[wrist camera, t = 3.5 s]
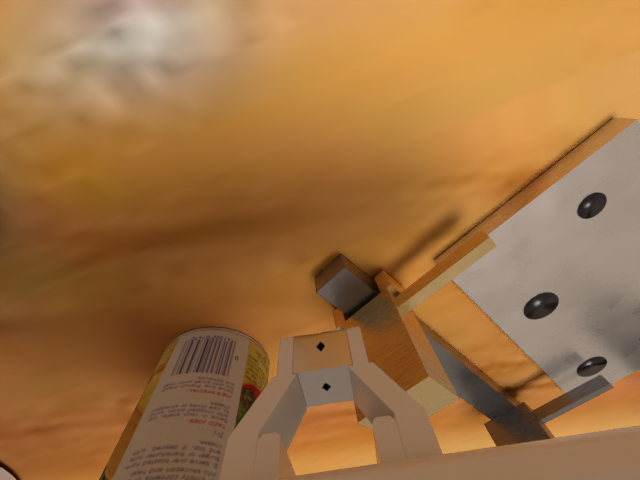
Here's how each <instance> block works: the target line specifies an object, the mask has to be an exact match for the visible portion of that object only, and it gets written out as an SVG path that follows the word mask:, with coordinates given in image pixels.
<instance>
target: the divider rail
mask: <svg viewBox="0 0 640 480" xmlns="http://www.w3.org/2000/svg"><path fill="white" fill-rule="evenodd" d="M315 284H316V293H317V294H319V295H320V296H322V297H323V298H324V299H326V300H327V301H329V302H330V303H331V304H333V305H334V306H335V307H337V308H338V309H340V310H341V311H342V312H344V313H345V314H346V315H348V316H349V317H351V316H352V315H354V314H355V313H356V312H357V311H359V310H360V309H361V308H362V307H364V306H365V305H366V304H367V303H369V302H370V301H371V300H372V299H374V298H375V297H376V296H377V295H379V294H380V290H379V288H378V286H377V284H376V283H375V282H374V281H373V280H372V279H370V278H369V277H368V276H367V275H366V274H364V273H363V272H362V271H361V270H360V269H358V268H357V267H356V266H355V265H354V264H352V263H351V262H350V261H349V260H348V259H347V258H345V257H344V256H343V255H342V254H340V255H339V256H338V257H337V258H336V259H335V260H333V261H332V262H331V263H330V264H329V265H328V266H327V267H326V268H325V269H324V270H322V271H321V272H320V273H319V274H318V275H317V276H316V277H315ZM415 317H416V316H415ZM416 319H417V321H418V322H419V324H420V326H421V328H422V330H423V332H424V334H425V335H426V337H427V339H428V341H429V343H430V345H431V346H432V348H433V350H434V352H435V354H436V356H437V358H438V359H439V361H440V363H441V365H442V367H443V369H444V371H445V372H446V374H447V376H448V378H449V380H450V382H451V383H452V385H453V387H454V389H455V391H456V393H457V395H458V396H459V397H461V398H462V399H464V400H465V401H466V402H468V403H469V404H470V405H472V406H473V407H475V408H476V409H477V410H479V411H480V412H482V413H483V414H484V415H486V416H487V417H488V418H490V419H491V420H490V421H489V422H487V423H485V424H484V425H485V427H486V429H487V430H488V432H489V434H490V436H491V437H492V439H493V441H494V443H495V444H496V446H504V445H510V444H517V443H524V442H531V441H538V440H545V439H551V438H555V437H554V436H553V434H552V433H551V432H550V430H549V429H548V428H547V426H546V425H545V424H544V423H546V422H548V421H550V420H552V419H554V418H556V417H558V416H560V415H562V414H564V413H566V412H568V411H570V410H571V409H573V408H575V407H577V406H579V405H581V404H583V403H585V402H587V401H589V400H591V399H593V398H595V397H597V396H598V395H600V394H602V393H604V392H606V391H608V390H610V389H612V388H614V387H613V386H612V385H611V384H610V383H609V382H608V381H607V380H606V379H605V378H604V377H603V376H602V375H598V376H596V377H595V378H593V379H591V380H589V381H587V382H585V383H583V384H582V385H580V386H578V387H576V388H574V389H572V390H570V391H569V392H567V393H565V394H563V395H561V396H559V397H557V398H556V399H554V400H552V401H550V402H548V403H546V404H544V405H543V406H541V407H539V408H537V409H535V410H533V409H531V408H530V407H529V406H528V405H527V404H526V403H524V402H523V403H521V404H520V403H519V402H518V401H517V400H515V399H514V398H513V397H512V396H511V395H509V394H508V393H507V392H506V391H505V390H503V389H502V388H501V387H500V386H499V385H497V384H496V383H495V382H494V381H493V380H491V379H490V378H489V377H488V376H487V375H485V374H484V373H483V372H482V371H481V370H479V369H478V368H477V367H476V366H475V365H474V364H472V363H471V362H470V361H469V360H468V359H466V358H465V357H464V356H463V355H462V354H460V353H459V352H458V351H457V350H456V349H454V348H453V347H452V346H451V345H450V344H448V343H447V342H446V341H445V340H444V339H442V338H441V337H440V336H439V335H438V334H436V333H435V332H434V331H433V330H432V329H430V328H429V327H428V326H427V325H426V324H424V323H423V322H422V321H421V320H420V319H418V318H417V317H416Z"/></svg>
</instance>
